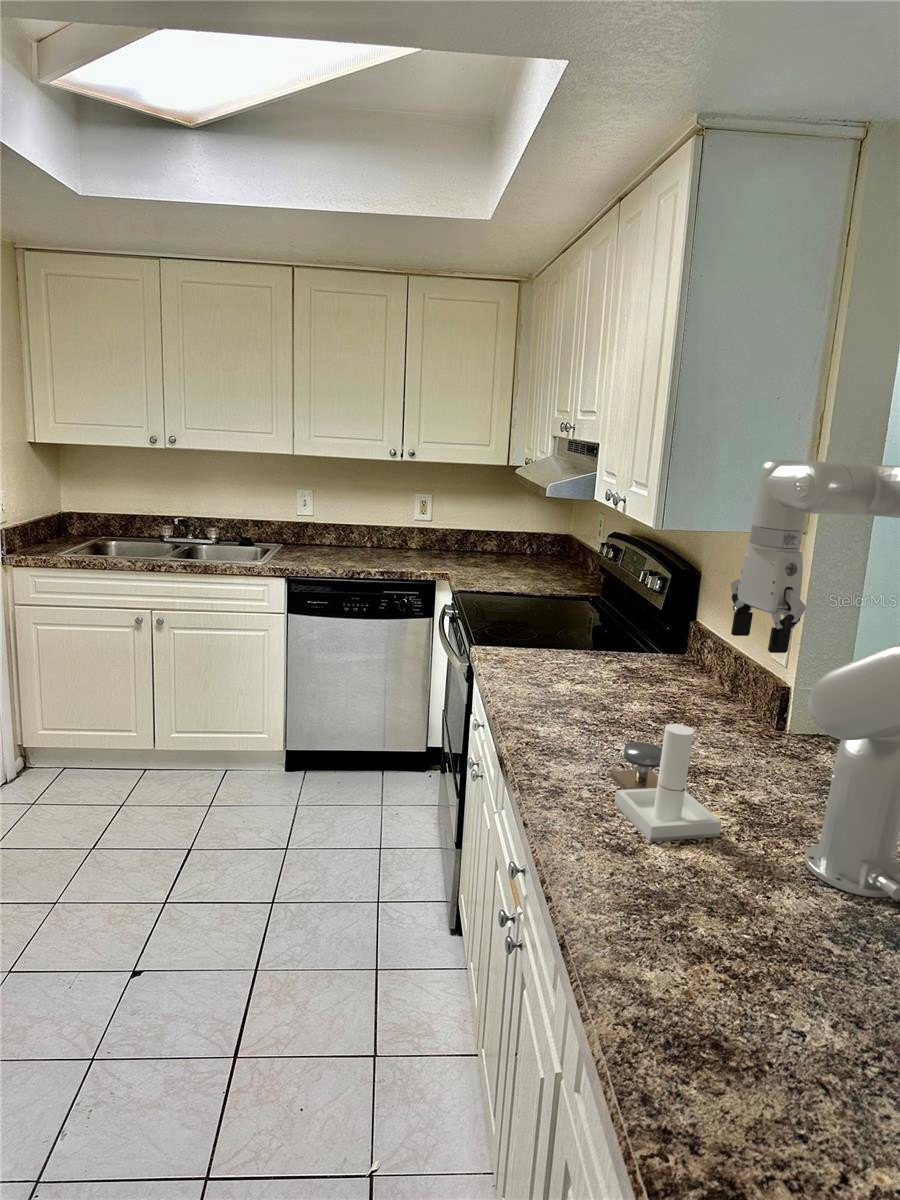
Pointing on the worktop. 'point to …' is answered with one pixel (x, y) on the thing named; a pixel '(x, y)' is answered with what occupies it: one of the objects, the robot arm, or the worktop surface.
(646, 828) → the tray
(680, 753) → the tube
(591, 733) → the worktop surface
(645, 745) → the knob on plate
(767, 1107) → the worktop surface
